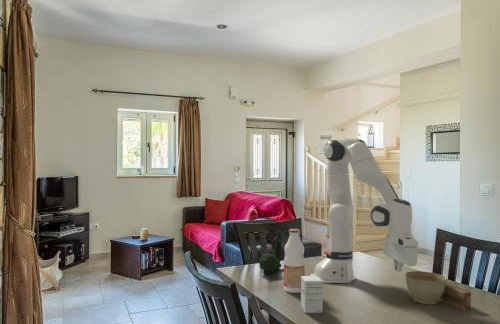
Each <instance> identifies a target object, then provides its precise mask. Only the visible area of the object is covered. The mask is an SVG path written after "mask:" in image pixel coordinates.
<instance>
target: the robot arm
mask: <svg viewBox="0 0 500 324" xmlns="http://www.w3.org/2000/svg"><path fill="white" fill-rule="evenodd" d="M323 149H324V155H325V157H326V159H327V162H326V163H327V164H326V174H327V175H326V177H327V190H328V196H329V201H330V208H329V210H328V228H329V229H328V230H329V249H328V250H326V249H323V250H322V253H323V254H324V255H326V256H325V257H324V258H323V259H322V260H321V261H319V262H318V263H317V264H316V265H315V267H314V273H311V274H310V275H309V276H318V277H319V278H320V279H321V280H322V281H323V284H325V283H326V284H350V283H352V281H354V280H355V279H356V277H355V273H354V268H353V267H354V266H353V260H354V259H353V257H354V255H353V248H352V247H353V245H352V243H353V241H352V240H353V237H352V236H353V234H352V233H353V232H352V218H353V214H354V207H353V200H352V199H353V198H352V193H351V182H350V170H349V165H350V166H351V168H352V171H353V174H354V176H355V178H356V179H357V180H358V181H359V182H361V183H362V184H363V183H364V184H366V185H368V186H371V187H373V188H374V189H376V190H377V192H379V193H380V196H381V197H382V198H383V201H384V204H378V205H374V206H373V208H372V209H371V212H370V220H371V222H372V223H373V225H374V226H376V227H379V228H385V227H386V228H388V234H387V235H386V236H385V239H384V240H383V245H382V254H383V255H384V256H386V257H388V258H390V259H392V263H393V266H394V267H393V269H394V271H396V272H399V273H401V272H402V271H403V267H404V265H406V266H407V267H408V266H409V267H416V265H417V264H418V255H419V254H418V253H419V252H418V247H419V241H418V240H417V239H416V238H415V237H414V236H413V235H412V229H411V228H412V227H411V226H412V223H413V208H412V204H411V203H410V201H407V200H405V199H401V198H399V195H398V194H397V193H396V191H395V189H394V187H393V186H392V183H391V181H390V180H389V179H388V177H387V176H386V175H385V174H384V172H383V171H382V170H381V168H380V167H379V166H378V163H377V162H376V158H375V157H374V155H373V153H372V151H371V150H370V148H369V146H368V145H367V143H366V142H365V141H364V140H362V139H360V138H344V139H333V140H330V141H327V142H326V144H325V145H324V148H323Z"/></svg>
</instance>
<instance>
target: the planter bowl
mask: <svg viewBox="0 0 500 324" xmlns="http://www.w3.org/2000/svg"><path fill="white" fill-rule="evenodd" d="M404 276H405V280H406V281H405V283H406V287H407V289H408V291H409V293H410V294H411V297H412V299H413V301H414V302H417V303H420V304H424V305H436V304H438V301H439V300H440V299H439V298H440V297H441V296H442V294H443V293H444V290H445V286H446V282H447V277H446V276H444V275H443V274H442V275H441V274H439V273H435V272H430V271H421V270H410V271H407V272H405V274H404Z"/></svg>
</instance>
